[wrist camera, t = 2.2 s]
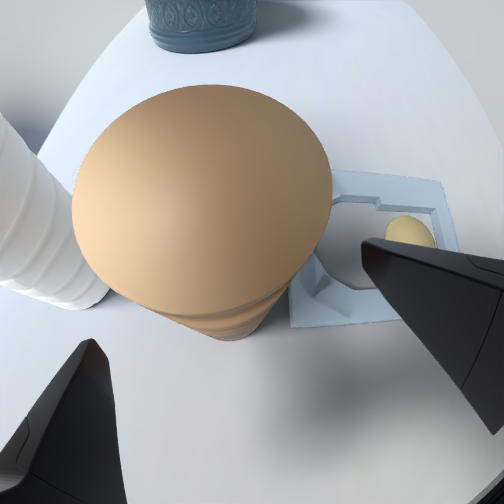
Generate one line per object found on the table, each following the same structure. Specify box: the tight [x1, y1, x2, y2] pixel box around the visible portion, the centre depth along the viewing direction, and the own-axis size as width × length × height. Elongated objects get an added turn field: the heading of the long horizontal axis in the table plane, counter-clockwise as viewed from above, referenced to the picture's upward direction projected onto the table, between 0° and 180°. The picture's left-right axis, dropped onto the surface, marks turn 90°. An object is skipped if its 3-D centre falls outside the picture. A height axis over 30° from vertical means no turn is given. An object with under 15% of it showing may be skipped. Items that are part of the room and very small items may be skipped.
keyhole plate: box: [288, 170, 459, 328], centre depth 20 cm, size 14×11×1 cm
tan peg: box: [72, 85, 333, 341], centre depth 12 cm, size 5×5×14 cm
